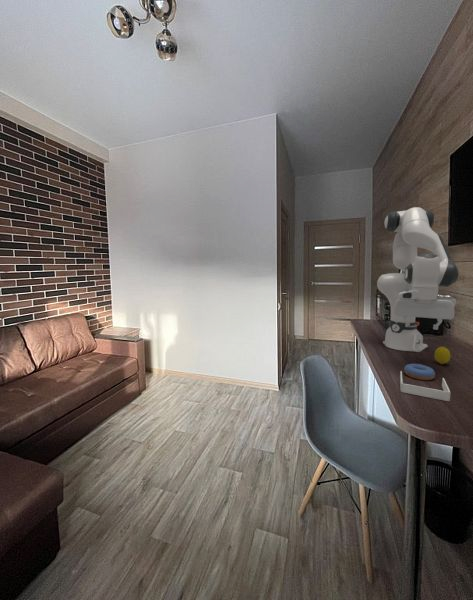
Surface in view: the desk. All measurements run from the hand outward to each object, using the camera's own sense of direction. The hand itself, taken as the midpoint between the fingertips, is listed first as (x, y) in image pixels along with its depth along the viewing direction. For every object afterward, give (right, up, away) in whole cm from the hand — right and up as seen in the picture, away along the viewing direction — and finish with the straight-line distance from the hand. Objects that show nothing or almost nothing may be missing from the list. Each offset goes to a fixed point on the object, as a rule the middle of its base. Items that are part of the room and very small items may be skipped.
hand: (421, 328), depth 110 cm
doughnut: (-5, -19, -5) cm, 20 cm away
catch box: (-11, -19, -17) cm, 28 cm away
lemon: (+14, -17, +7) cm, 23 cm away
